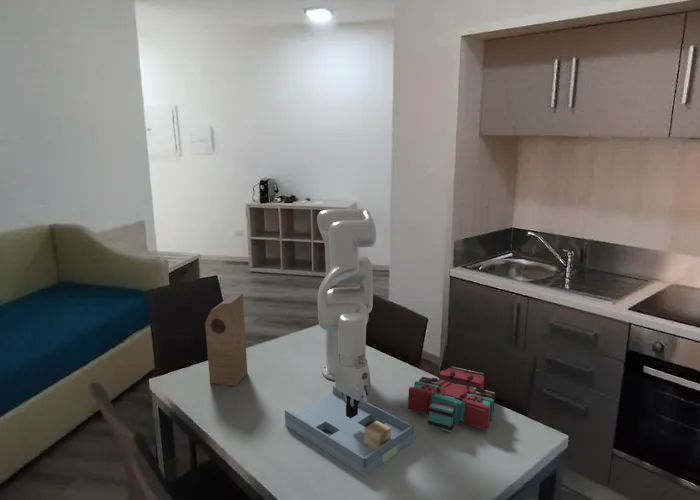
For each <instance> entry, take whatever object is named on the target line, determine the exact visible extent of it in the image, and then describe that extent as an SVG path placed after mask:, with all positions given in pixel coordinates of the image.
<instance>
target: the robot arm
mask: <svg viewBox="0 0 700 500" xmlns="http://www.w3.org/2000/svg"><path fill="white" fill-rule="evenodd" d="M316 220H317V221H316V223H317V227H318V230H319V233H320V235H321V237H322V240H323V243H324V248H325V250H324V252H325V253H324V254H325V255H324V256H325V258H324V259H325V277H324V278H323V280H322V281H321V283H320V285H319V288H318V291H317V300H316V301H317V316H318V317H317V319H318V323H319V324H318V325H319V326H320V328H321V329H322V330H323V331H325V364H324V366H322V368H321V375H323V377H324V378H326V379H329V380H333V381H334V383H335V384H334V386H336V388H337V390H338V391H339V392H340V393H341V394H342V395H343V397H344V402H345V403H346V416H347V417H349V418H350V419H351V418H353V417H354V416H356V415H357V414H358V403H360V404H363V405H364V404H366V403H367V402H368V398H367V396H370V395H371V393H372V392H371V391H372V389H371V388H372V384H371V375H370V367H369V365H368V359H367V356H366V354H367V353H366V350H367V349H366V347H367V346H366V345H367V344H366V342H367V341H366V339H367V330H366V329H367V324H368V321H369V318H370V313H371V312H372V310H373V305H374V303H373V302H374V301H373V300H374V295H373V294H374V293H373V292H374V290H373V288H374V287H373V286H374V285H373V283H374V282H373V277H374V276H373V266H372V262H371V260H370V259H369V258H368V257H367V256H361V255H359V251H358V250H359V248H371V247H373V246H374V245H375V244H376V241H377V230H376V225H375V222H374V219H373V217H372V215H371V212H370V211H369V210H368V209H366V208H332V209H331V208H330V209H329V208H328V209H324V210H323V209H322V210H321V211H319V212H318V214H317V216H316ZM336 285H338V286H340V285H341V286H342V285H343V287H333V286H336ZM344 285H358V286H352V287H350V286H349V287H346V286H345V287H344Z"/></svg>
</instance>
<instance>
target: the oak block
mask: <svg viewBox="0 0 700 500" xmlns="http://www.w3.org/2000/svg"><path fill="white" fill-rule="evenodd" d="M390 439H391V428H390V427H388V426H386V425H384V424H382V423H381V422H379V421H375V422H374V423H372V424H370V425H369V426H367V427H366V428H364V445H366V446H367V447H369V448H371V449H373V450H376V449H377V448H379V447H380V446H381V445H383V444H384V443H386V442H387V441H389V440H390Z"/></svg>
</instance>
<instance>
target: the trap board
mask: <svg viewBox="0 0 700 500" xmlns="http://www.w3.org/2000/svg"><path fill="white" fill-rule="evenodd" d="M284 421H285V422H284V423H285V426H286V427H287V428H289V429H291V430H292V431H294V432H295V433H296V434H298V435H300V436H301V437H302V438H304V439H306V440H308V441H309V442H310V443H312V444H314V445H315V446H317V447H318V448H320V449H321V450H323V451H324V452H326V453H327V454H329V455H331V456H332V457H334V458H335V459H337V460H339V461H340V462H341V463H343V464H344V465H346V466H348V467H349V468H350V469H352V470H353V471H355V472H357V473H359V474H360V475H361V476H363V477H366V476H367V475H369V474H370V473H371V472H373V471H375V470H376V469H377V468H380V466H382V465H383V464H384V463H385V462H387V461H388V460H391V458H392V457H394V456H395V455H397V454H398V453H400V452H401V451H403V450H404V449H405V448H407V447H408V446H410V444H412V443H414V431H415V430H414V429H415V428H414V425H413V424H412V423H409V422H407V421H405V420H403V419H402V418H399V417H397V416H396V415H394V414H391V413H390V412H388V411H386V410H384V409H381V408H380V407H378V406H375V405H373V404H372V403H370V402H368V401H367V403H366V404H364V405H363V404H360V403H358V414H357V415H356V416H354V417H353V418H351V419H350V418H349V417H347V416H346V403H345V402H344V397H343V395H342V394H341V393H340V392H339V391H338V390H337V388H336V385H333V386H332V393H331V394H329V395H327V396H325V397H322V398H321V399H319V400H317V401H315V402H312V403H311V404H309V405H307V406H306V407H303V408H300V409H298V410H297V411H296V412H292V411H290V410H288V409H284ZM375 421H379V422H381V423H382V424H384V425H386V426H388V427H390V428H391V439H390V440H389V441H387V442H386V443H384V444H383V445H381V446H380V447H379V448H377V449H376V450H373V449H371V448H369V447H367V446H366V445H364V428H366V427H367V426H369V425H370V424H372V423H374V422H375Z"/></svg>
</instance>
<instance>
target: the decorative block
mask: <svg viewBox="0 0 700 500" xmlns="http://www.w3.org/2000/svg"><path fill="white" fill-rule="evenodd" d="M244 309H245V308H244V296H243V293H238V294H233V295H231V296H229V297H227V298H226V299H224V300H223V301H222V302H220V303H219V304H217V305H216V306H215V307H213V308H211V310H210V311H209V314H208V315H207V318H206V320H205V321H204V324H205V326H204V327H205V338H206V349H207V351H206V352H207V362H208V373H209V374H208V376H209V377H208V378H209V384H213V385H224V386H233V387H237V386H238V384H239V383H240V382H241V381H242V380H243V379H244V377H245V376H246V375H248V359H247V345H246V343H247V342H246V329H245V328H246V327H245V326H246V325H245V310H244Z"/></svg>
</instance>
